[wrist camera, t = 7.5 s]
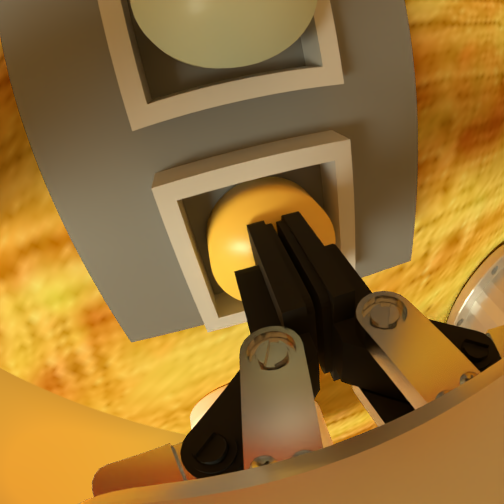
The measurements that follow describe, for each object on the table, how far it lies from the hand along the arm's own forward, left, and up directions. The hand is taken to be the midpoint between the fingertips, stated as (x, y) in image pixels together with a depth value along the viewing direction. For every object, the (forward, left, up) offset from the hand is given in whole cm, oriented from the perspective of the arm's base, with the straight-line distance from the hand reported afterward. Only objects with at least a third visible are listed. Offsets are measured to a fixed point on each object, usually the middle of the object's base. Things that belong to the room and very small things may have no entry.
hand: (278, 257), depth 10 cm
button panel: (0, -8, -5) cm, 10 cm away
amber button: (0, 0, -2) cm, 2 cm away
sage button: (0, -8, -1) cm, 8 cm away
